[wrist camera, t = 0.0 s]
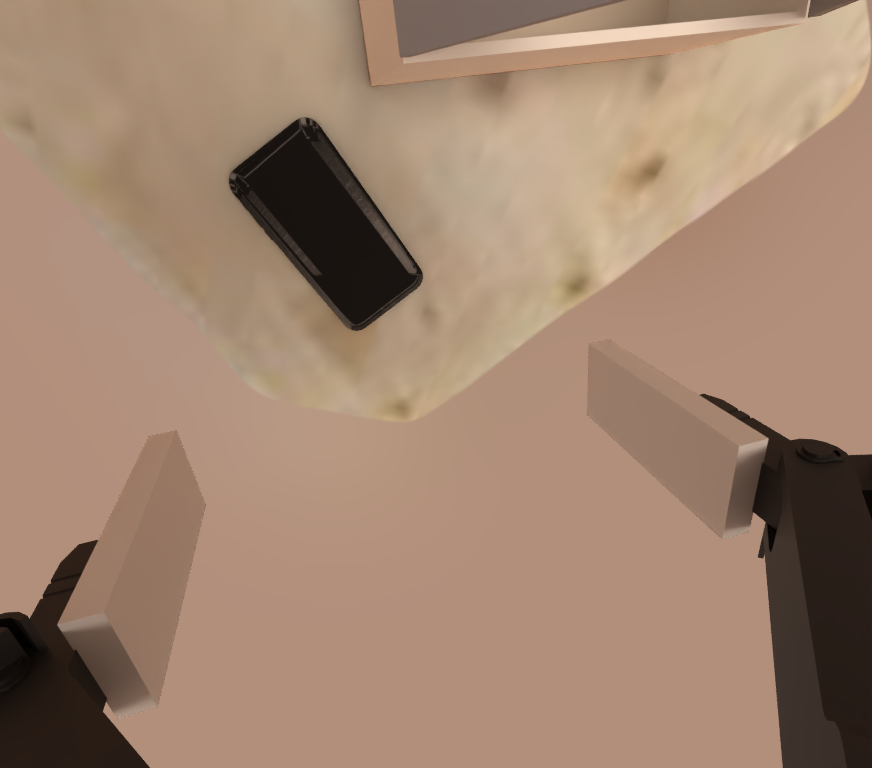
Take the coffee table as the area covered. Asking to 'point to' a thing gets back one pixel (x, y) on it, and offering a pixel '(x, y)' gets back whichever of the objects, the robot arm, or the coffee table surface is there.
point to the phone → (326, 224)
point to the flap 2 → (826, 6)
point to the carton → (575, 37)
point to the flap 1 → (473, 19)
